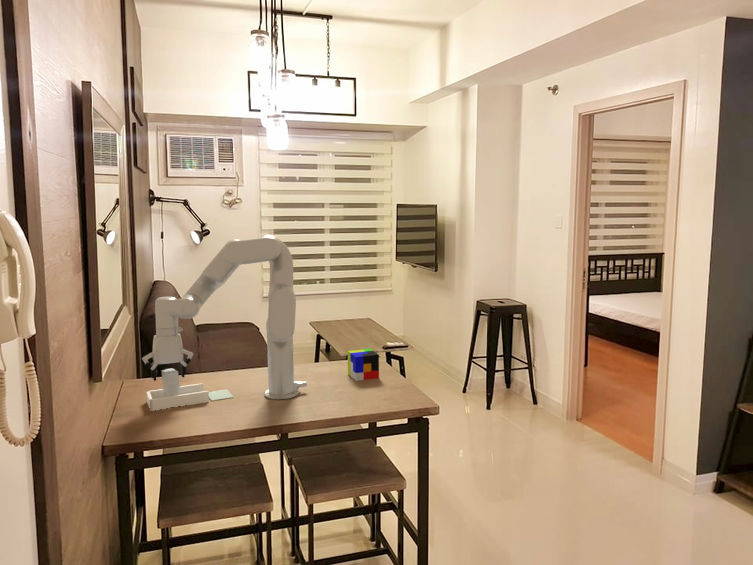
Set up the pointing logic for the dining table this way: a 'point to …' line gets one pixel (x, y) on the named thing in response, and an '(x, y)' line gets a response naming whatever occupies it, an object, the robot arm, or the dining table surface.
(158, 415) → the dining table surface
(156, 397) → the lane
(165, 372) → the skincare box
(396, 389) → the dining table surface
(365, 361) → the puzzle toy
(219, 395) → the mat
